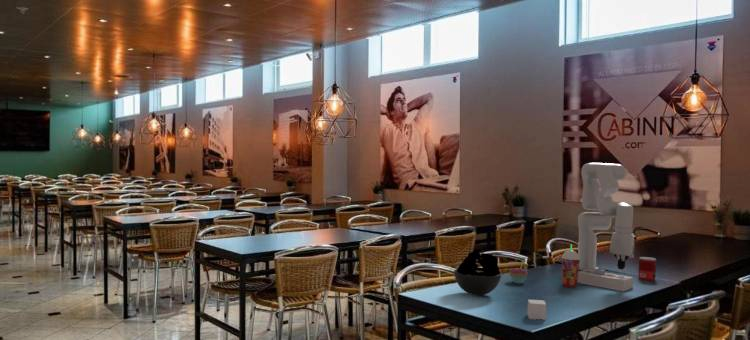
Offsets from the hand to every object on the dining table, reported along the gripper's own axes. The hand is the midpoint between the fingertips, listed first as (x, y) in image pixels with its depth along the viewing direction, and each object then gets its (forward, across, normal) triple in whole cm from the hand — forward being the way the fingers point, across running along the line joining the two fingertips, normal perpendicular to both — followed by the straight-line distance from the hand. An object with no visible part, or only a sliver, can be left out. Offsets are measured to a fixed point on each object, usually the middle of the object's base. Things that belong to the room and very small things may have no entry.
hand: (621, 268), depth 279 cm
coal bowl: (+8, -35, -69) cm, 78 cm away
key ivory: (+8, +1, -1) cm, 8 cm away
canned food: (+10, +1, +32) cm, 34 cm away
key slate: (+6, -10, -1) cm, 12 cm away
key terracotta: (+8, -5, -1) cm, 9 cm away
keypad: (+9, -7, -1) cm, 12 cm away
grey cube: (+8, 0, -81) cm, 81 cm away
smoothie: (+9, -17, -18) cm, 26 cm away
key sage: (+8, -15, -1) cm, 18 cm away
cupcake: (+10, -37, -31) cm, 49 cm away
